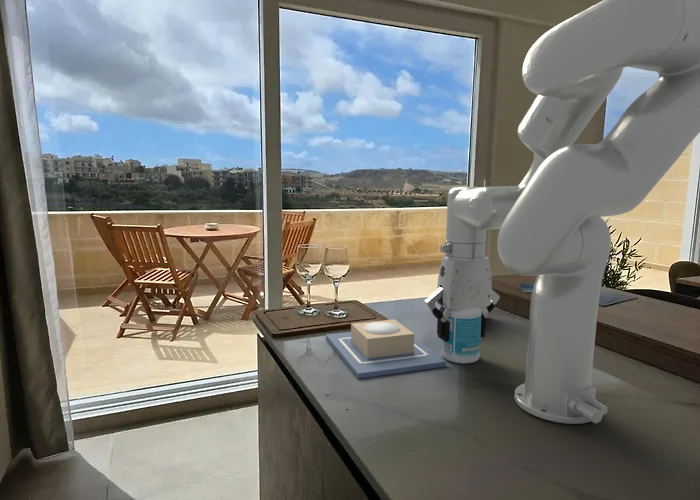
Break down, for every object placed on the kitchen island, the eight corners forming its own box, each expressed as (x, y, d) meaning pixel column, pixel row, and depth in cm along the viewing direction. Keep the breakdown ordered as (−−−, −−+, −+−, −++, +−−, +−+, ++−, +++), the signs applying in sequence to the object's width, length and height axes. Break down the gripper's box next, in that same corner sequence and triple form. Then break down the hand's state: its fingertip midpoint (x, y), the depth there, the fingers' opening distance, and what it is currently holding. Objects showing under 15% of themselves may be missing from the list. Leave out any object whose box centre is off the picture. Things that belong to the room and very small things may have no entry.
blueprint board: (446, 366, 91) (447, 341, 90) (358, 378, 85) (358, 351, 84) (399, 330, 111) (399, 310, 110) (325, 338, 106) (325, 316, 105)
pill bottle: (484, 355, 96) (487, 291, 94) (472, 368, 90) (476, 299, 88) (449, 348, 100) (451, 286, 98) (436, 359, 94) (438, 294, 92)
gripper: (434, 255, 85) (431, 348, 88) (515, 251, 91) (509, 338, 94) (416, 249, 92) (413, 335, 95) (491, 245, 98) (487, 327, 101)
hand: (461, 336), depth 94 cm, fingers closed on pill bottle, 7 cm apart
